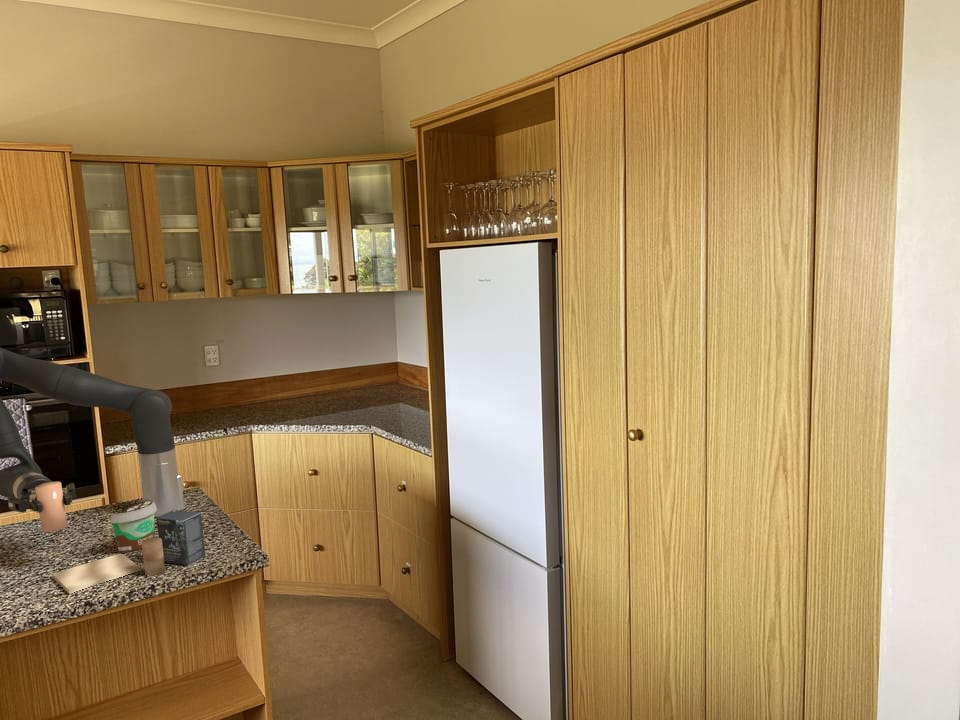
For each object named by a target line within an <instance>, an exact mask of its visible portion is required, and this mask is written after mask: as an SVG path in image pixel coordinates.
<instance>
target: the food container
mask: <svg viewBox="0 0 960 720" xmlns="http://www.w3.org/2000/svg"><path fill="white" fill-rule="evenodd" d="M156 510H157V508H156V505H155V503H154V502H153V500H152V499H149V498H143V497H142V502H140V503H138V504H136V505H133V506H129V507H128V508H126V509H125V510H124V511H122V512H121V513H111V514H110V524H112V526H113V530H114V531H113V532H114V536H115V540H116V546H117V551H118V554H119V553H126V554H128V553H127V552H133V553H135V552H134V551H138V552H140V551H139V550H141V551H142V542H143V541H145V540H147V539H151V538H156V537H155V536H156V535H155V517H154V513H155V512H156Z"/></svg>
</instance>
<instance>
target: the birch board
mask: <svg viewBox="0 0 960 720" xmlns="http://www.w3.org/2000/svg"><path fill="white" fill-rule="evenodd" d="M138 571H140V572H141V567H140V565H138V564H137V563H135V562H134V561H132V560H131V559H130V558H128V557H127V556H126V555H124V554H121V553H120V554H119V553H116V554H114V555H110V556H107V557H103V558H101V559H96V560H94V561H91V562H87V563H84V564H80V565H77V566H73V567H70V568H67V569H64V570H61V571H56V572H54V573H52V579H53V580H54V581H55V582H56V583H57V584H58V585H59V586H60V587H61V588H62V587H63V588H62V589H63V590H64V591H65V592H66V591H67V592H66V593H67V594H68V593H69V594H68V595H72V594H75V593H77V592H76V591H78V592H80V591H79V590H81V591H83V590H82V589H84V590H86V589H85V588H87V589H89V588H88V587H90V586H93V585H96V584H99V583H103V582H106V581H109V580H112V579H116V578H119V577H122V578H124V577H123V576H125V575H128V574H131V573H134V572H137V573H139V572H138ZM134 574H135V573H134ZM131 575H132V574H131ZM128 576H129V575H128ZM125 577H126V576H125ZM119 579H120V578H119ZM116 580H117V579H116ZM112 581H113V580H112ZM109 582H110V581H109ZM106 583H107V582H106ZM103 584H104V583H103ZM74 592H75V593H74ZM71 593H72V594H71Z"/></svg>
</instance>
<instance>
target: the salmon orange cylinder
mask: <svg viewBox="0 0 960 720" xmlns="http://www.w3.org/2000/svg"><path fill="white" fill-rule="evenodd" d="M62 488H63V486H62V482H61V481H53V482H48V483H44V484H41V485H38V486H36V487H35V490H36V496H37V501H39V502H40V503H41V506H42V512H40V513H38V514H39V521H40V525H41V526H40V527H41V532H43V533H52V532H56V531H60V530H64V529H66V528H67V527H68V526H69V524H68V518H67V511H66V505H65V504H64V498H63V492H62Z"/></svg>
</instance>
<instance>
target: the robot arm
mask: <svg viewBox="0 0 960 720" xmlns="http://www.w3.org/2000/svg"><path fill="white" fill-rule="evenodd" d="M0 381H4V382H9V383H13V384H16V385H18V386H22V387H24V388H26V389H27V390H30V391H31V392H33V393H36V394H38V395H41V396H43V397H45V398H48V399H51V400H54V401H57V402H62V403H65V404H66V403H67V404H69V405H75V406H81V407H89V408H90V407H91V408H104V409H111V410H116V411H120V412H123V413H126V414H129V415H130V416H131V423H132V431H133V438H134V442H135V445H136V450H137V459H138V466H139V467H138V468H139V475H140V483H141V492H142V499H143V498H149V499H152V500H153V502H154V503H155V505H156V508H157V510H156V512H155V513H154V518H157V517H159V516H161V515H163V514H165V513H168V512H170V511H172V510H174V509H175V510H180V511H183V510H185V502H184V492H183V482H182V481H183V480H182V476H181V475H180V474H178V472H179V470H178V462H177V453H176V443H175V438H174V434H173V430H172V423H171V413H172V410H173V403H172V399H171V398H170V397H169V395H167V394H166V393H165V392H163V391H161V390H159V389H153V388H148V387H142V386H141V387H140V386H136V385H131V384H128V383H127V384H126V383H122V382H119V381H116V380H113V379H111V378H108V377H106V376H101V375H99V374H97V373H93V372H90V371H87V370H84V369H81V368H76V367H73V366H69V365H66V364H61V363H57V362H52V361H47V360H44V359H38V358H33V357H28V356H25V355H21V354H18V353H16V352H13V351H11V350H7V349H5V348H2V347H0ZM10 458H13V459H17V460H18V461H19V463H16V464H14V465H10V466H8V467H4V468H1V469H0V496H1V497H4V498H8V499H7V503H8V508H9V511H14V512H17V513H25V512H27V511H28V510H30V511H31V512H35V513H36V512H37V513H38V514H39V513H40V512H42V506H41V503H40V502H39V501H37V496H36V490H35V487H36V486H38V485H41V484H44V483H48V482H54V481H53V480H51V479H50V478H48V477H47V476H45V475H43V472H42V469H41V467H40V466H39V464H37V463H36V461H35V460H34V459H33V457H32V456H31V455H30V453H29V452H28V450H27V449H26V447H25V445H24V442H23V439H22V437H21V434H20V432H19V429H18V426H17V423H16V421H15V419H14V417H13V415H12V414H11V412H10V410H9V408H8V407H7V406H6V404H5V402H4V401H3V399H2V397H1V396H0V460H3V459H10ZM75 486H76V485H75V483H74V482H71V483H69V484H68V485H66V487H62V492H63V498H64V505H65V507H66V506H67V507H68V506H71V504H72V503H73V500H77V494H76V487H75Z"/></svg>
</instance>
